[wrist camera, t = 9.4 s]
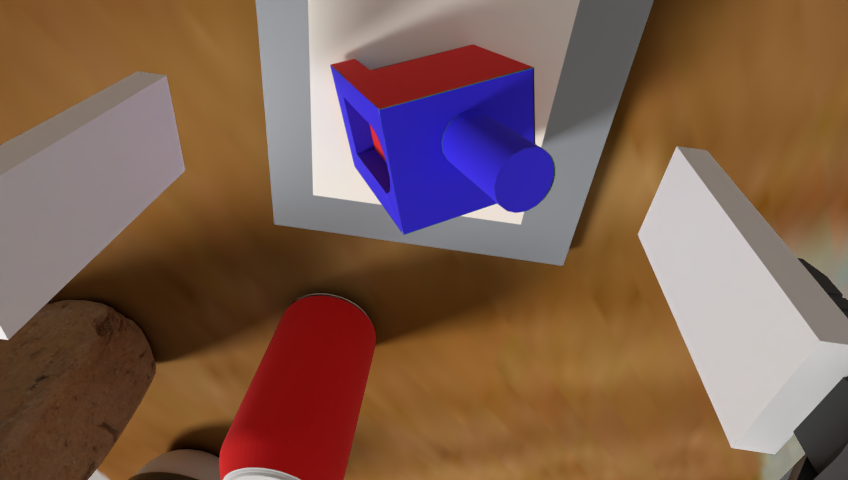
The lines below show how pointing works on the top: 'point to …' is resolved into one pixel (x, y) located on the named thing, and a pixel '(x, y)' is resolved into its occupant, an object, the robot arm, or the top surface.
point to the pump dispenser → (181, 466)
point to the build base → (461, 233)
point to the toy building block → (445, 134)
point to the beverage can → (303, 395)
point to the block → (69, 389)
